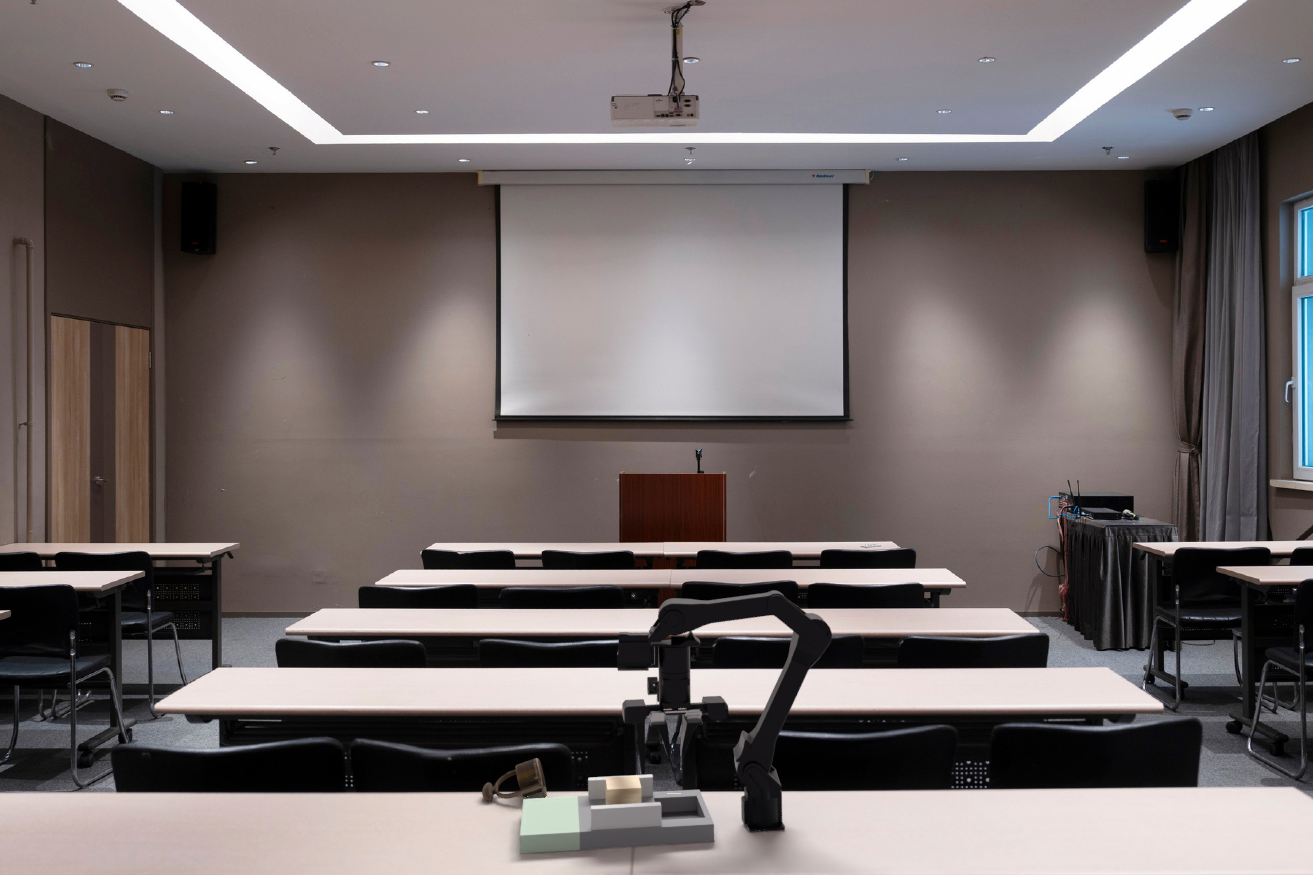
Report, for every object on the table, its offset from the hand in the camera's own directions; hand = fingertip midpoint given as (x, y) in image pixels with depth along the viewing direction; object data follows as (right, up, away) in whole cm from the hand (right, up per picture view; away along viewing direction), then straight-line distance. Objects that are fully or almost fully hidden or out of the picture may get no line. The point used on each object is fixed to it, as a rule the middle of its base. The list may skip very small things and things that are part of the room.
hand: (675, 757), depth 161 cm
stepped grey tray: (-10, -12, -1) cm, 16 cm away
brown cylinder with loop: (-31, -13, +15) cm, 37 cm away
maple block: (-9, -9, -1) cm, 13 cm away
